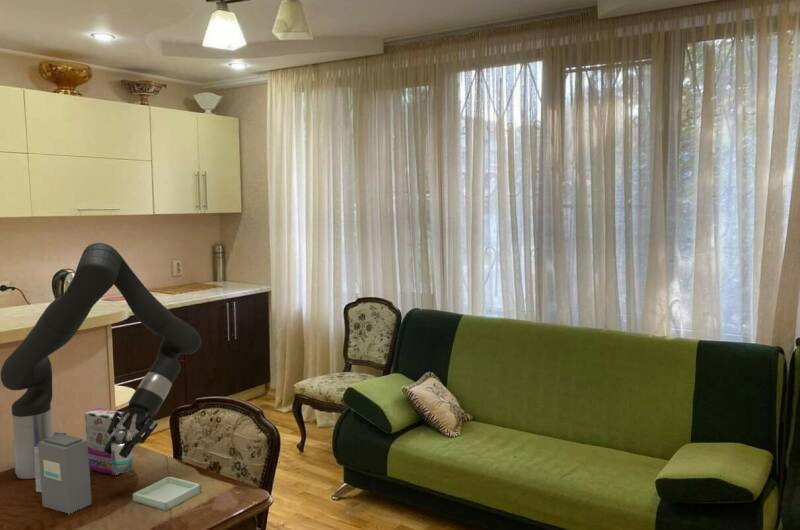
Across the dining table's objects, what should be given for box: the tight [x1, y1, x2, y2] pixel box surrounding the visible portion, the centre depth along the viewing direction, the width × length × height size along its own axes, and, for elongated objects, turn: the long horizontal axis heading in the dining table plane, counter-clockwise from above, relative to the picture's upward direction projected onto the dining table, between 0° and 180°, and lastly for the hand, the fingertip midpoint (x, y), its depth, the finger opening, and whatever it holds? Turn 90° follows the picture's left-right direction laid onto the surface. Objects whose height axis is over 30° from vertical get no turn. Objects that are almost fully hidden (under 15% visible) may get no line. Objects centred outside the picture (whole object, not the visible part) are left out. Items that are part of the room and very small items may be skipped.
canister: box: [111, 429, 134, 474], centre depth 162 cm, size 5×5×10 cm
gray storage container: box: [38, 434, 92, 515], centre depth 158 cm, size 10×6×17 cm, turn 62°
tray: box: [132, 476, 202, 512], centre depth 162 cm, size 11×11×2 cm
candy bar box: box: [84, 408, 129, 477], centre depth 179 cm, size 11×5×16 cm, turn 64°
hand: (114, 454), depth 160 cm, fingers closed on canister, 4 cm apart
